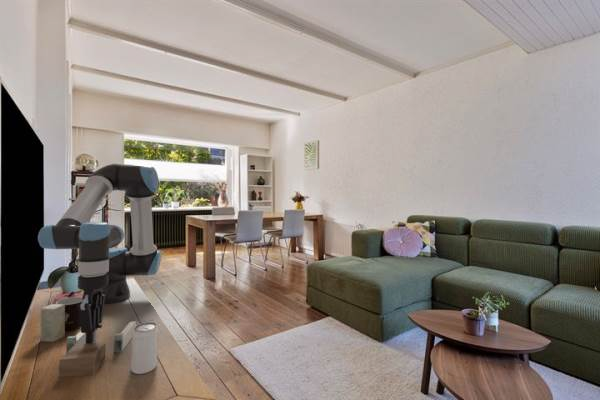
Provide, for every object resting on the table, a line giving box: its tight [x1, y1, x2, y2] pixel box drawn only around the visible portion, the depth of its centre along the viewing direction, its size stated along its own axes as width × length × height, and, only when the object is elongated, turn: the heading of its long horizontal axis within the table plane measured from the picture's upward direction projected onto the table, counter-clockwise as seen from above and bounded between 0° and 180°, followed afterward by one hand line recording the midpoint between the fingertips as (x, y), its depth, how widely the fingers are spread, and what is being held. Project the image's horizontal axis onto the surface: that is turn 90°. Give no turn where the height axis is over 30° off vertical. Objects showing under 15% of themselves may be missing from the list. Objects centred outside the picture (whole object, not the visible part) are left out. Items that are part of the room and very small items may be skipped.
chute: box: [65, 320, 137, 354], centre depth 97 cm, size 14×15×6 cm
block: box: [58, 342, 107, 378], centre depth 83 cm, size 8×8×5 cm
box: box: [40, 303, 66, 343], centre depth 99 cm, size 5×4×11 cm
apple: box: [53, 291, 83, 304], centre depth 117 cm, size 10×9×10 cm
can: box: [130, 322, 159, 375], centre depth 84 cm, size 6×6×12 cm
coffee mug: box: [56, 297, 83, 333], centre depth 107 cm, size 12×9×10 cm
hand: (91, 351), depth 88 cm, fingers closed
